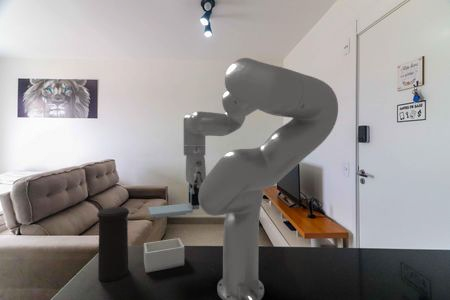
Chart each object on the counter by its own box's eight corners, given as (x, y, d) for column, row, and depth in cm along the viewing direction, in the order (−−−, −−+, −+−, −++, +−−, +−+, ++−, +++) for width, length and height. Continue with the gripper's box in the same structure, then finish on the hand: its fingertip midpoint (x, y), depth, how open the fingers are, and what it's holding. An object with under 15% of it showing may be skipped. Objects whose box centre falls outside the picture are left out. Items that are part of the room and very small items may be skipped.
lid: (201, 214, 78) (201, 190, 78) (150, 220, 72) (150, 194, 72) (194, 207, 87) (194, 185, 86) (148, 212, 80) (147, 189, 80)
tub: (184, 265, 77) (184, 247, 77) (145, 272, 72) (145, 253, 72) (179, 254, 84) (179, 238, 84) (143, 260, 80) (143, 243, 80)
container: (134, 267, 76) (134, 205, 75) (119, 283, 67) (118, 213, 66) (109, 265, 76) (108, 204, 76) (90, 281, 68) (89, 212, 67)
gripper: (212, 151, 75) (212, 208, 76) (198, 150, 90) (198, 198, 91) (189, 151, 72) (189, 211, 73) (178, 150, 88) (179, 199, 88)
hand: (194, 203), depth 82 cm, fingers closed on lid, 3 cm apart
